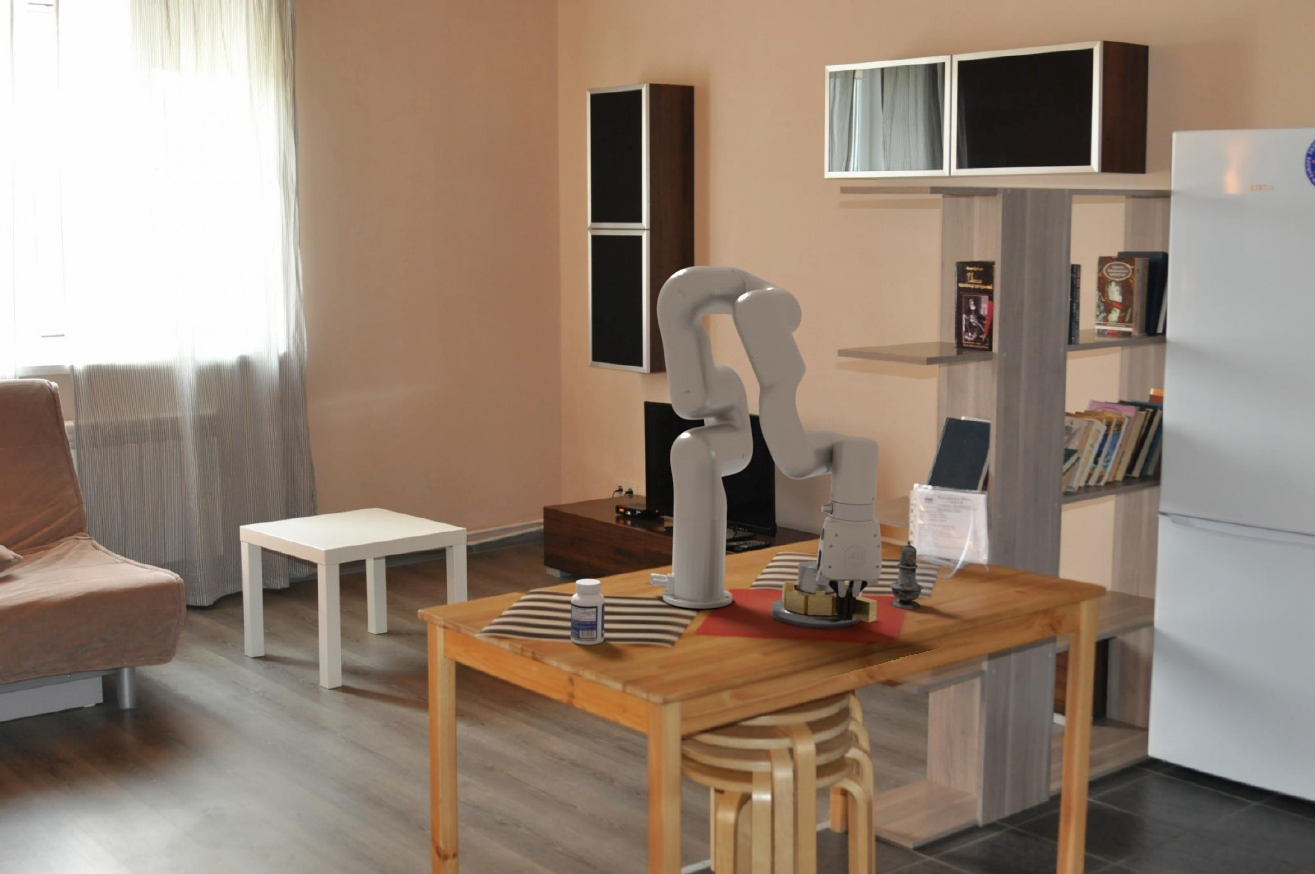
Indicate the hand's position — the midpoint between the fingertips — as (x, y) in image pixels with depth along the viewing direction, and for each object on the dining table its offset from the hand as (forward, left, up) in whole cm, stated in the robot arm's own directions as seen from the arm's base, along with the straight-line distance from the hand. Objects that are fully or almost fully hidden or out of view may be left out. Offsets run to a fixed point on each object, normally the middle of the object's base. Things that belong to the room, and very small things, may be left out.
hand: (844, 617), depth 224 cm
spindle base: (-6, +7, -2) cm, 10 cm away
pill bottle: (-38, -22, -2) cm, 44 cm away
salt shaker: (+8, +21, -2) cm, 23 cm away
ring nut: (-3, +6, 0) cm, 6 cm away
